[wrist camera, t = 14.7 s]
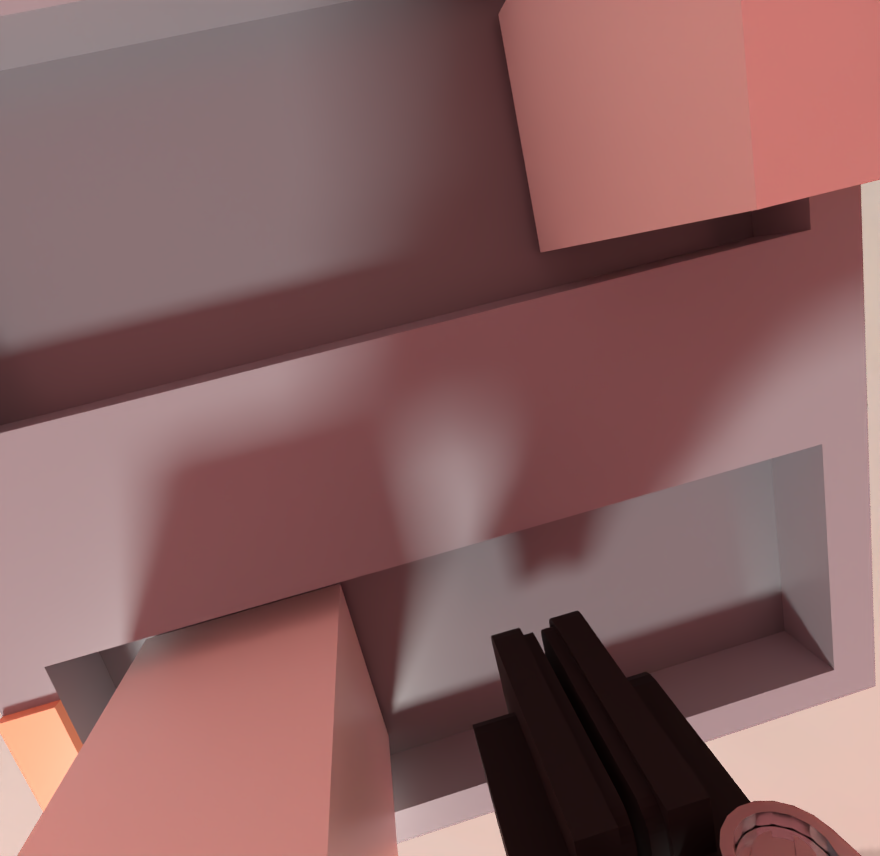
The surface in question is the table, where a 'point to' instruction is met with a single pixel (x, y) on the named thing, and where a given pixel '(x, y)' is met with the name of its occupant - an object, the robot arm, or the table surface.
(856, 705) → the table surface
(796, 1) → the tab middle
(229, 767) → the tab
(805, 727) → the table surface
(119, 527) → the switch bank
